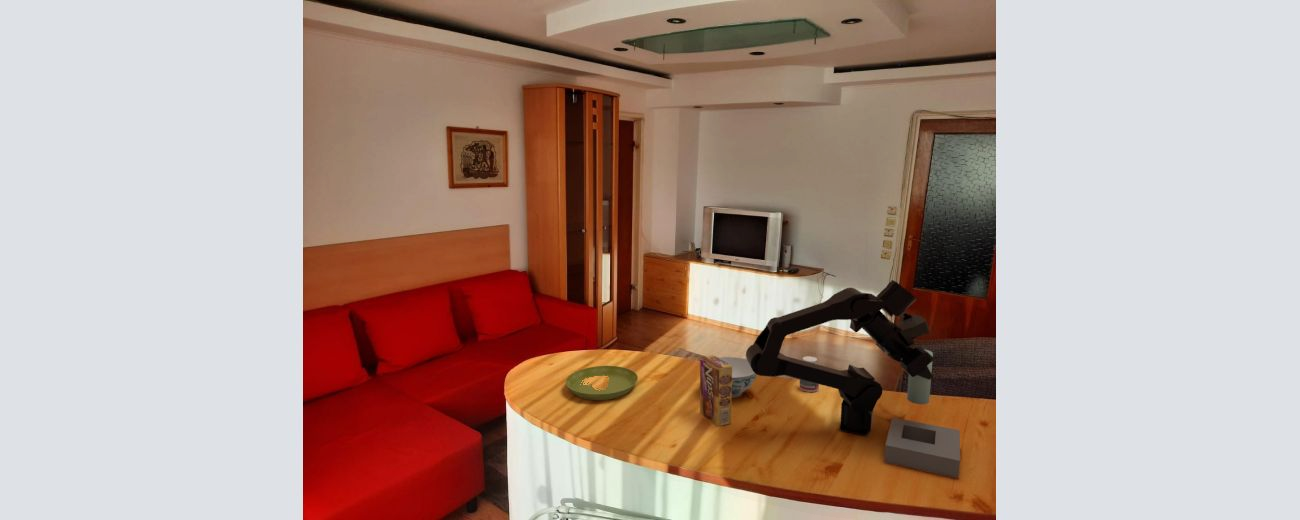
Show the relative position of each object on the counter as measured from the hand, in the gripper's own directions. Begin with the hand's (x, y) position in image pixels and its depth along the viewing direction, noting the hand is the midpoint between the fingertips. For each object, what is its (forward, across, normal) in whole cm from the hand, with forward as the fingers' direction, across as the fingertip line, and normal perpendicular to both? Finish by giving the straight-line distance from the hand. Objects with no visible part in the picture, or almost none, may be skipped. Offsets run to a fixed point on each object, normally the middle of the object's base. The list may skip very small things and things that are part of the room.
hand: (925, 373), depth 133 cm
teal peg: (+4, 0, +6) cm, 7 cm away
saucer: (-46, +26, +66) cm, 85 cm away
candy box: (-25, +6, +44) cm, 51 cm away
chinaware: (-21, +21, +40) cm, 50 cm away
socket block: (+5, -12, +14) cm, 19 cm away
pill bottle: (-5, +23, +25) cm, 34 cm away
